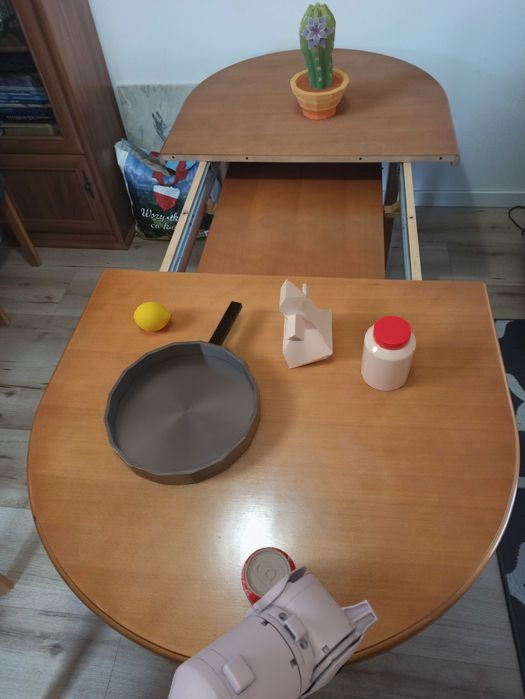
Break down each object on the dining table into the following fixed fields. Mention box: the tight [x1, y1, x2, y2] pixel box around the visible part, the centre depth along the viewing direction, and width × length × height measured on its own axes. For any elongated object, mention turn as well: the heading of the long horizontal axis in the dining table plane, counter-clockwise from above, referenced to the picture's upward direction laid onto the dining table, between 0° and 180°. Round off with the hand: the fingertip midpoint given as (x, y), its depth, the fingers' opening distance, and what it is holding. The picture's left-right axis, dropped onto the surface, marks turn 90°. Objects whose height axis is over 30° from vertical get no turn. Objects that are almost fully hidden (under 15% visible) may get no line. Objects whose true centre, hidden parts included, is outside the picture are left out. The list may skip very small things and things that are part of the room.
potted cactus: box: [289, 1, 350, 121], centre depth 124 cm, size 15×15×25 cm
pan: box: [102, 300, 261, 486], centre depth 81 cm, size 34×24×4 cm
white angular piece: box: [278, 278, 334, 369], centre depth 82 cm, size 8×14×14 cm, turn 176°
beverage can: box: [240, 546, 297, 607], centre depth 58 cm, size 6×6×12 cm
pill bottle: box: [359, 315, 417, 392], centre depth 78 cm, size 8×8×11 cm
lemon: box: [133, 301, 172, 332], centre depth 90 cm, size 7×5×5 cm
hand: (308, 659), depth 54 cm, fingers closed
